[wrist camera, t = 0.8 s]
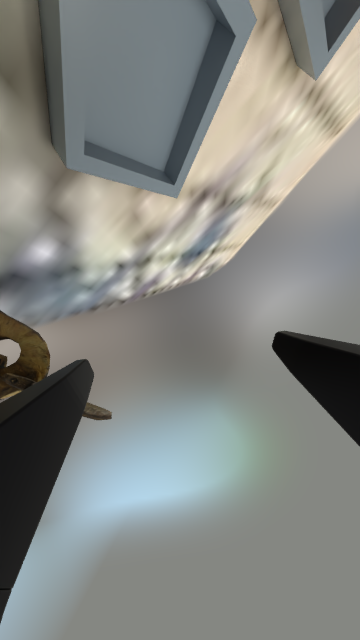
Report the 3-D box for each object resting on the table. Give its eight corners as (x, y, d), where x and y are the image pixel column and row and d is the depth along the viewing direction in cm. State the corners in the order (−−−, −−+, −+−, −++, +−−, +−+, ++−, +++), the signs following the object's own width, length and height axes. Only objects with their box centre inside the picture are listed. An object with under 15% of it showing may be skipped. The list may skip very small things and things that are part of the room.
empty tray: (52, 143, 11) (66, 168, 10) (-10, -499, 3) (35, -514, 3) (164, 182, 17) (177, 198, 17) (231, 0, 10) (256, 20, 9)
